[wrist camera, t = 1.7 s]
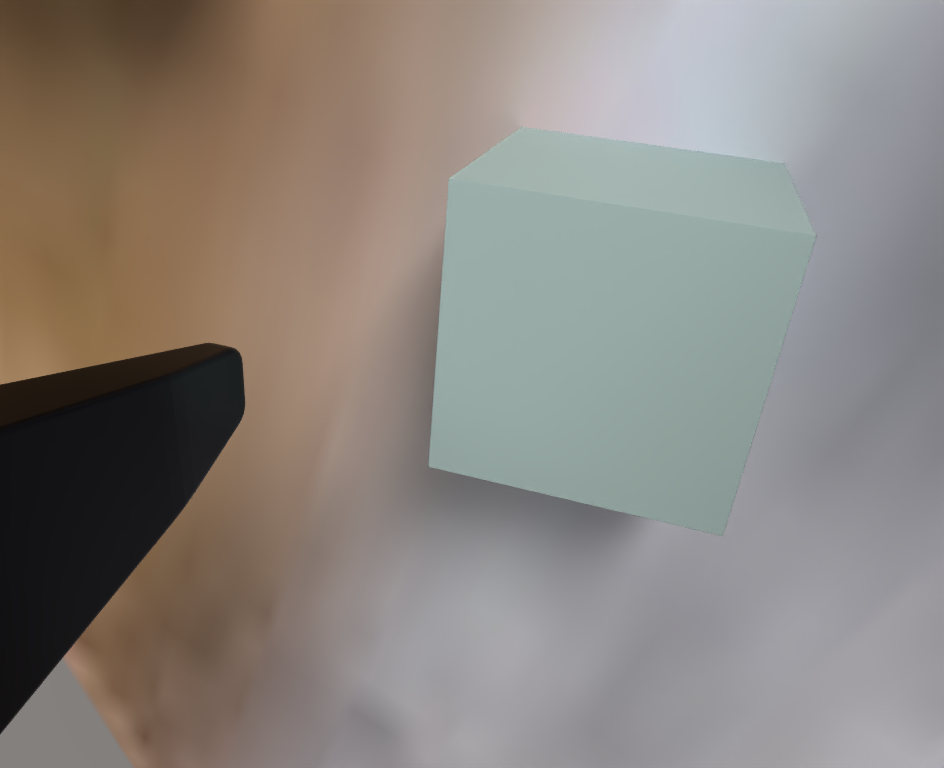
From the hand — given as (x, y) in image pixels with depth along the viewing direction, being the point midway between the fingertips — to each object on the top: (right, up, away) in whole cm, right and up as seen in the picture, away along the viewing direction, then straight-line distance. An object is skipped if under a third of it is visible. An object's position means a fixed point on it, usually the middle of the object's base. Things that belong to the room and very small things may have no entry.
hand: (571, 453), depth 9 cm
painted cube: (+2, +3, +7) cm, 8 cm away
